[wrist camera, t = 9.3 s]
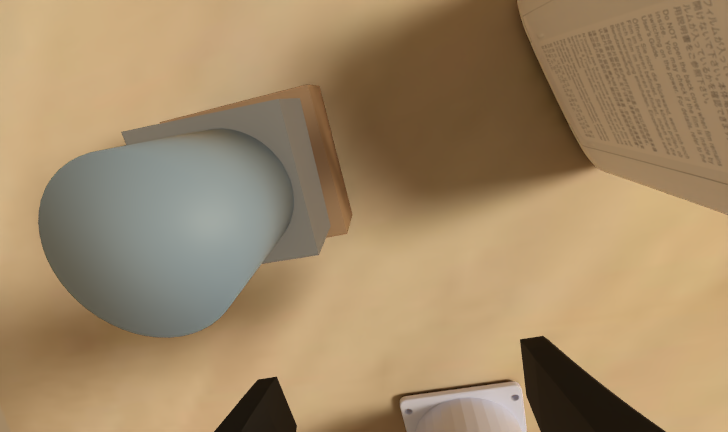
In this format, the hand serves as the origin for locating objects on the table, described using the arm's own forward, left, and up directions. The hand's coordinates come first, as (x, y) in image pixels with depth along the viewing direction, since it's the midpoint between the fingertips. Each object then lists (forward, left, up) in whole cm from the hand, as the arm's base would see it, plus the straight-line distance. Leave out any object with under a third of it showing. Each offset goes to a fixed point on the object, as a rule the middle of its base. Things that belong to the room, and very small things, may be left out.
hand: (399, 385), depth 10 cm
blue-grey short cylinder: (+6, +5, -4) cm, 9 cm away
